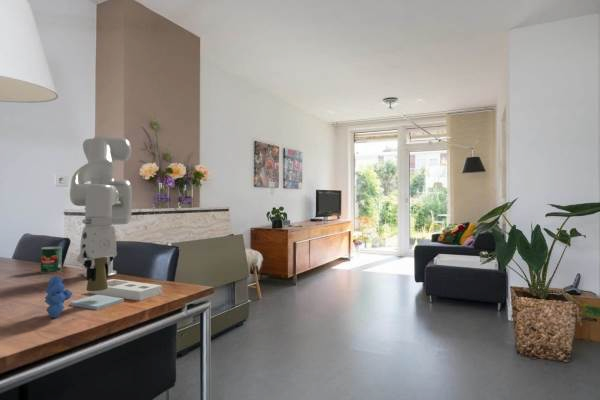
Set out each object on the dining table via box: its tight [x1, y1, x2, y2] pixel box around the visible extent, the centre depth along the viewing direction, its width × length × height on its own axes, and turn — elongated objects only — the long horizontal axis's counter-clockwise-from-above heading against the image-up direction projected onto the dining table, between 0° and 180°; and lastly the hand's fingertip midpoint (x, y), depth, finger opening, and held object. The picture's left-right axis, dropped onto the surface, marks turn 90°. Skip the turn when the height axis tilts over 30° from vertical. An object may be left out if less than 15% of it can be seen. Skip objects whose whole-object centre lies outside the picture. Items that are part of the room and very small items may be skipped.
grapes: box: [44, 275, 73, 319], centre depth 104 cm, size 12×7×12 cm, turn 45°
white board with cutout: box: [88, 278, 163, 301], centre depth 130 cm, size 24×10×3 cm, turn 68°
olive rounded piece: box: [86, 257, 108, 292], centre depth 117 cm, size 6×6×11 cm
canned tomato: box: [40, 245, 63, 274], centre depth 166 cm, size 8×8×11 cm
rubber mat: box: [69, 294, 125, 311], centre depth 118 cm, size 12×10×1 cm
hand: (97, 278), depth 118 cm, fingers closed on olive rounded piece, 3 cm apart
